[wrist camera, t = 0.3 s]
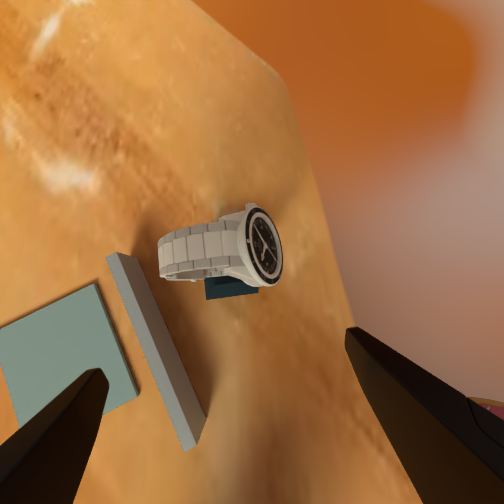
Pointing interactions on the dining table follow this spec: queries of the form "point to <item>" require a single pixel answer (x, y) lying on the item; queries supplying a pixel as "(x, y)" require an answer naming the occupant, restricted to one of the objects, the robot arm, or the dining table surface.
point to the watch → (225, 253)
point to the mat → (62, 353)
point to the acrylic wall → (158, 349)
